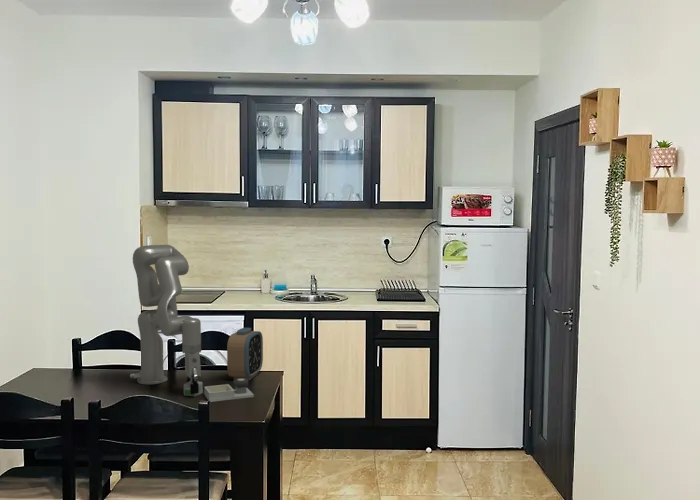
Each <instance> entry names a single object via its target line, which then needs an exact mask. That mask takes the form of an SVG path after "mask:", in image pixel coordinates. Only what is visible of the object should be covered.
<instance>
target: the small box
mask: <svg viewBox="0 0 700 500" xmlns="http://www.w3.org/2000/svg"><path fill="white" fill-rule="evenodd" d="M190 384H191V381H189V382H187V381H186V382H185V383H183V396H189V397H198V396H200V395H201V394H203V393H204V391H203V388H204V386H203V381H199V380H198V385H199V393H195V394H191V393H190Z"/></svg>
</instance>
